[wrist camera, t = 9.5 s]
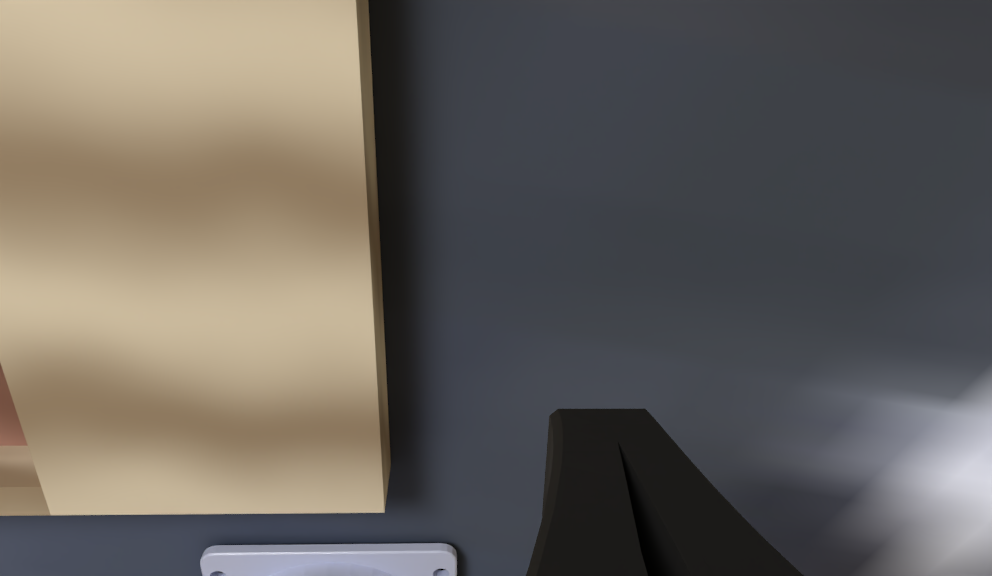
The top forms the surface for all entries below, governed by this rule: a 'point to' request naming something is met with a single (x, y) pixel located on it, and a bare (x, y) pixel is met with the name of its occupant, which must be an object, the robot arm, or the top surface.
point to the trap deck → (190, 259)
